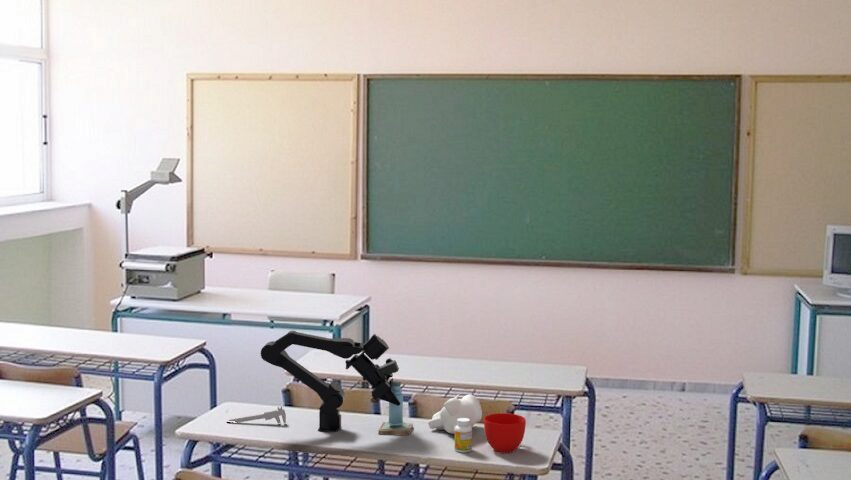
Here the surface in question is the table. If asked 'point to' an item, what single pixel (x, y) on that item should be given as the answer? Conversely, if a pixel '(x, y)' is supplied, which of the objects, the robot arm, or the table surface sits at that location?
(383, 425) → the picture frame
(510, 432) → the ceramic cup
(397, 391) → the water bottle
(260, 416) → the caliper
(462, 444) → the supplement bottle
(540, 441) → the table surface
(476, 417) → the fox head
